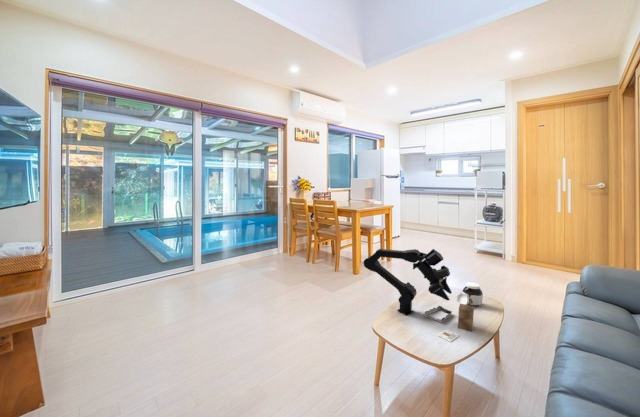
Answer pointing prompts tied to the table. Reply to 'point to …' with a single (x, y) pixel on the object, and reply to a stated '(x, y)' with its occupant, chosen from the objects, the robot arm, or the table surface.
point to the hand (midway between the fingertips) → (449, 296)
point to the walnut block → (465, 317)
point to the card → (448, 335)
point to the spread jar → (471, 295)
